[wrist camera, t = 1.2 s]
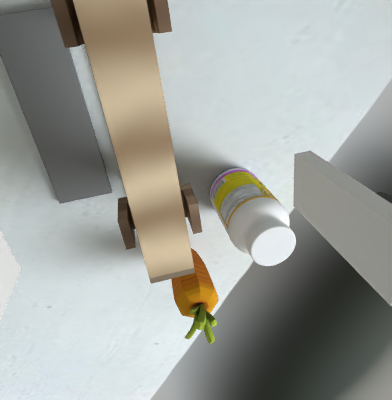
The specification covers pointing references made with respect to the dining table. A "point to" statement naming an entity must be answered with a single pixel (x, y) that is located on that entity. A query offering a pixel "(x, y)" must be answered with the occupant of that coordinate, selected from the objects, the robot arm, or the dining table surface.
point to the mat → (53, 103)
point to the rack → (74, 37)
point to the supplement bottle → (252, 217)
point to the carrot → (196, 297)
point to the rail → (138, 128)
